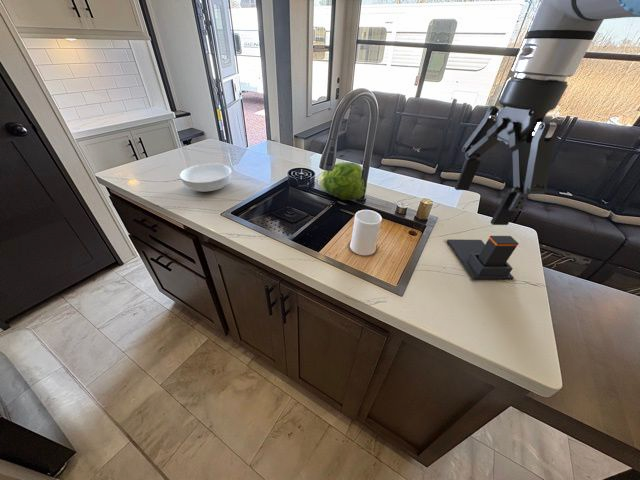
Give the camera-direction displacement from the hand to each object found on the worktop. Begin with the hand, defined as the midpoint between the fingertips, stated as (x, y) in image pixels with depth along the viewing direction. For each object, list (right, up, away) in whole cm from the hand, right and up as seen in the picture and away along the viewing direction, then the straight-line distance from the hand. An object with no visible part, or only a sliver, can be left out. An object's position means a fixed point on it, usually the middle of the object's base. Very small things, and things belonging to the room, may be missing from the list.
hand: (478, 204), depth 50 cm
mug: (-17, -9, +35) cm, 40 cm away
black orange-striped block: (+19, -15, +27) cm, 37 cm away
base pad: (+19, -13, +32) cm, 39 cm away
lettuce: (-22, +13, +62) cm, 67 cm away
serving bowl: (-81, +17, +64) cm, 104 cm away
